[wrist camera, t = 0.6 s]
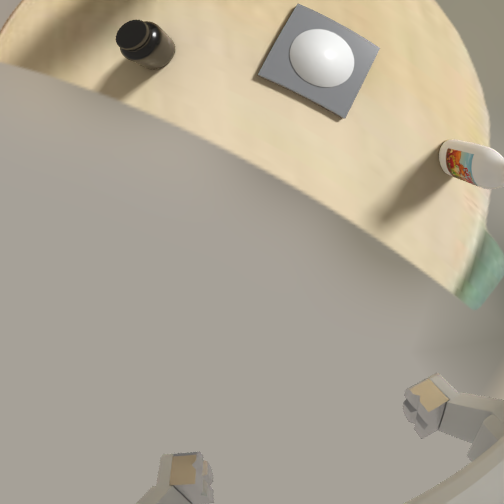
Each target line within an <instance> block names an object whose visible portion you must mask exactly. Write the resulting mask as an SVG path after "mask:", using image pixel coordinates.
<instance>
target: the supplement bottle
mask: <svg viewBox="0 0 504 504" xmlns="http://www.w3.org/2000/svg"><path fill="white" fill-rule="evenodd" d="M116 42H117V45H118V46H119V47H120V51H121V53H122V54H123V56H124V57H126V58H127V59H129V60H131V61H133V62H135V63H137V64H139V65H141V66H143V67H145V68H148V69H158V68H161V67H163V66H165V65H166V64H168V63H169V62H170V61H171V59H172V58H173V56H174V53H175V44H174V42H173V41H172V39H171V38H170V37H169V36H168V35H167V34H166V33H165V32H164V31H163V30H162V29H161V28H160V27H159V26H158V25H157V24H155V23H153V22H148V21H144V22H143V21H140V20H132V21H129V22H127V23H125V24H124V25H123V26H122V27H121V28H120V29H119V30H118V33H117V35H116Z"/></svg>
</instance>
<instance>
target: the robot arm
mask: <svg viewBox="0 0 504 504" xmlns="http://www.w3.org/2000/svg"><path fill="white" fill-rule="evenodd" d="M404 396H405V397H406V400H405V401H404V403H403V410H404V414H405V416H406V418H407V420H408V421H409V422H411V423H414V424H415V427H414V430H415V431H416V432H417V434H418V435H419V436H420V438H421V439H423V438H424V437H426V436H428V435H430V434H432V433H434V432H435V431H437V430H439V431H441V432H444V433H446V434H449V435H451V436H454V437H456V438H459V439H461V440H464V441H467V442H470V443H472V446H471V448H470V450H469V451H468V454H467V456H468V458H469V459H470V460H471V463H469V464H468V465H466V466H465V467H464V468H462V469H461V470H460V471H458V472H456V473H455V474H454V475H452V476H451V477H449V478H447V479H446V480H444V481H443V482H441V483H440V484H438V485H436V486H435V487H433V488H431V489H430V490H428V491H426V492H424V493H423V494H421V495H419V496H417V497H415V498H413V499H411V500H409V501H407V502H406V503H404V504H504V400H502V399H496V398H490V397H484V396H479V395H474V394H469V393H464V392H462V393H460V394H459V393H458V392H457V391H456V390H455V389H454V388H453V387H452V386H451V385H450V384H449V383H448V382H447V381H446V380H445V379H444V378H443V377H442V376H441V375H440V374H438V373H435V374H433V375H432V376H430V377H428V378H426V379H424V380H422V381H420V382H419V383H417V384H415V385H413V386H411V387H409V388H407V389H406V390H405V394H404ZM212 482H213V473H212V469H211V467H210V465H209V463H208V462H207V461H204V460H203V455H202V454H201V453H200V452H191V453H178V454H163V455H162V456H161V459H160V465H159V471H158V478H157V484H156V486H152V488H151V489H150V490H149V491H148V492H147V493H146V494H145V495H144V496H143V497H142V498H141V499H140V500H139V501H138V502H137V503H136V504H209V503H214V500H213V499H214V498H213V489H212V488H211V487H210V485H211V484H212Z"/></svg>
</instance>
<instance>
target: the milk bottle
mask: <svg viewBox="0 0 504 504" xmlns="http://www.w3.org/2000/svg"><path fill="white" fill-rule="evenodd" d="M439 162H440V165H441V167H442V169H443V170H444V172H445V173H446V174H448V175H450V176H453V177H455V178H458V179H461V180H463V181H466V182H468V183H471V184H473V185H476V186H479V187H482V188H485V189H497V188H501V187H504V158H503V157H502V156H501V155H500V154H499V153H498V152H497V151H496V150H494V149H492V148H490V147H487V146H483V145H480V144H475V143H471V142H466V141H461V140H456V139H449V140H447V141H445V142H444V143H443V144H442V146H441V148H440V151H439Z"/></svg>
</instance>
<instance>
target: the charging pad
mask: <svg viewBox="0 0 504 504" xmlns="http://www.w3.org/2000/svg"><path fill="white" fill-rule="evenodd" d="M379 49H380V48H379V47H377V46H376V45H374V44H373V43H371V42H370V41H368V40H367V39H365V38H363V37H362V36H360V35H358V34H357V33H355V32H353V31H352V30H350V29H348V28H346V27H344V26H343V25H341V24H339V23H337V22H335V21H333V20H331V19H330V18H328V17H326V16H324V15H322V14H320V13H318V12H315V11H313V10H311V9H309V8H307V7H305V6H302V5H300V4H297V6H296V8H295V9H294V11H293V13H292V14H291V16H290V18H289V19H288V21H287V23H286V24H285V26H284V28H283V30H282V31H281V33H280V35H279V37H278V38H277V40H276V42H275V44H274V45H273V47H272V49H271V51H270V53H269V54H268V56H267V58H266V60H265V62H264V64H263V66H262V67H261V69H260V71H259V73H258V76H260V77H262V78H264V79H267V80H269V81H271V82H273V83H276V84H278V85H280V86H282V87H284V88H286V89H288V90H290V91H292V92H295V93H297V94H299V95H301V96H303V97H305V98H306V99H308V100H310V101H312V102H314V103H316V104H318V105H320V106H322V107H323V108H325V109H327V110H329V111H331V112H332V113H334V114H336V115H338V116H339V117H341V118H343V119H344V118H346V116H347V114H348V112H349V110H350V108H351V106H352V104H353V102H354V100H355V98H356V96H357V94H358V92H359V90H360V88H361V86H362V84H363V82H364V80H365V78H366V76H367V74H368V71H369V69H370V67H371V65H372V63H373V61H374V59H375V57H376V55H377V53H378V51H379Z"/></svg>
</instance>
